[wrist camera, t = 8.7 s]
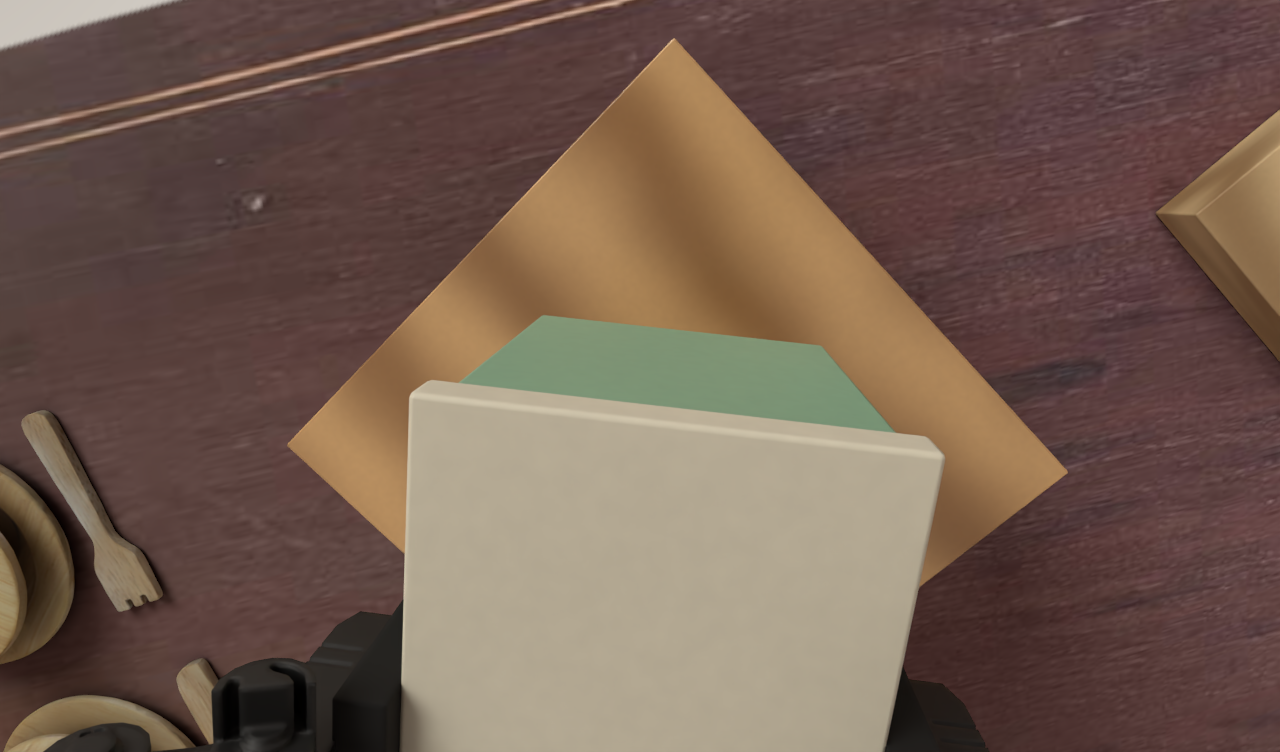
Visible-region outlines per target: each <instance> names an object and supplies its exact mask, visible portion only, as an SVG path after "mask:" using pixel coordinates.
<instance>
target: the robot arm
mask: <svg viewBox="0 0 1280 752" xmlns="http://www.w3.org/2000/svg"><path fill="white" fill-rule="evenodd" d="M403 603H404V599H403V600H402V602H401V603H400V605H399V606H398V607H397V609H396V610H395V612H394V613H393V614H392V615H385V614H377V613H369V612H361V611H360V612H359V613H357V614H355V615H354V616H352V617H350V618H349V619H347V620H345V621H343V622H342V623H340V624H338V625H337V626H336V627H335V628H334V629H333V631H332V632H331V633H330V634H329V636H328V637H327V638H326V639H325V640H324V642H323V643H322V646H321V647H319V648H318V649H317V650H316V651H315V653H314V654H313V655H312V656H311V657H310V661H309V662H308V661H307V662H306V663H303V662H300V661H297V660H294V659H290V658H270V659H264V660H259V661H253V662H250V663H248V664H245V665H243V666H240V667H238V668H235V669H234V670H232V671H231V672H229V673H228V674H226V675H225V676H224V677H222V678H221V679H219V681H218V682H217V684H216V685H215V687H214V688H213V689H212V691H211V699H212V723H213V744H210V745H204V746H198V747H192V748H183V749H173V750H163V751H154V752H399V750H400V715H401V674H402V638H403ZM975 727H976V726H975V724H974V722H973V720H972V718H971V716H970V714H969V712H968V711H967V709H966V707H965V705H964V704H963V703H962V702H961V701H960V700H959V699H958V698H957V697H956V696H955V695H954V694H953V693H952V692H951V691H950V690H949V689H947V688H946V687H945V686H944V685H943V684H941V683H933V682H925V681H917V680H910V679H908V677H907V675H906V672H905V670H904V668H903V667H902V671H901V676H900V681H899V686H898V691H897V696H896V700H895V705H894V710H893V715H892V720H891V725H890V729H889V734H888V739H887V744H886V748H885V752H989V750H988V748H985V742H984V741H983V739H982V737H981V735H980V733H979V731H978V730H976V728H975ZM43 752H151V742H150V735H149V733H148V732H147V731H145V730H144V729H143V728H142V727H140V726H138V725H133V724H128V723H124V722H121V723H107V724H100V725H96V726H92V727H89V728H85V729H81V730H78V731H76V732H74V733H72V734H70V735H68V736H66V737H64V738H62V739H60V740H58V741H56V742H55V743H54V744H53V745H51V746H50V747H49V748H47V749H46V750H45V751H43Z"/></svg>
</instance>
